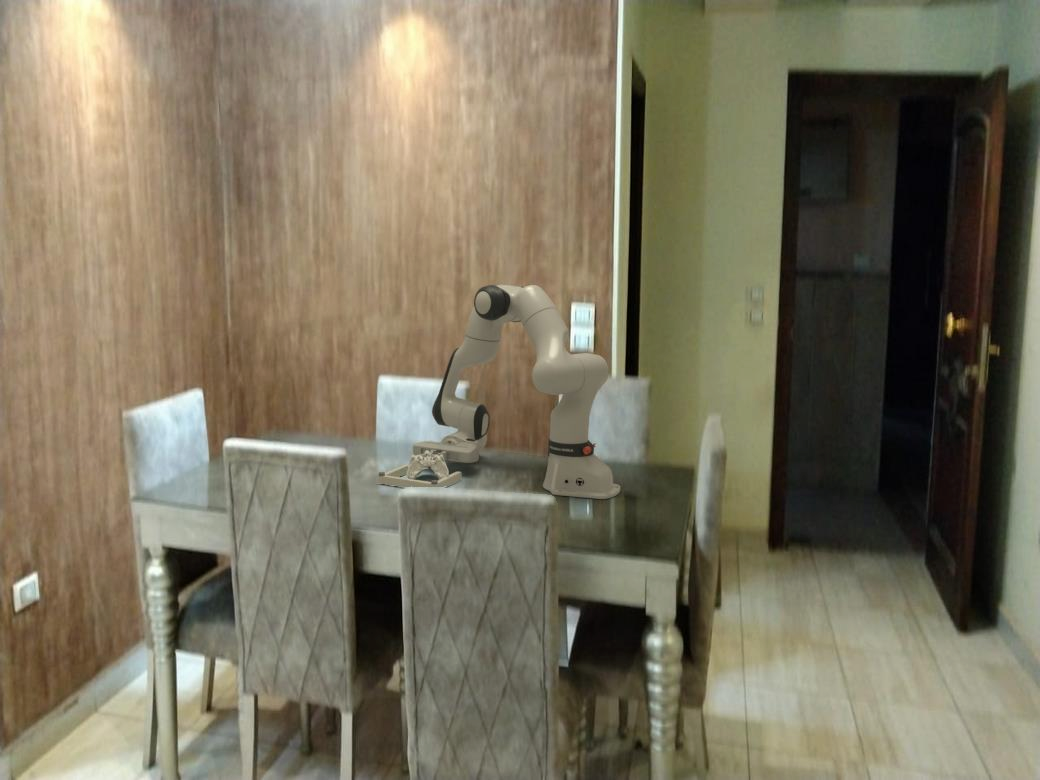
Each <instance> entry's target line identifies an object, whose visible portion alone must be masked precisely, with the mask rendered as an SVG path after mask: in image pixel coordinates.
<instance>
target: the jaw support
mask: <svg viewBox="0 0 1040 780" xmlns="http://www.w3.org/2000/svg"><path fill="white" fill-rule="evenodd" d="M426 453H427V457H425V455H426ZM428 454H429V455H430V457H428ZM408 464H409V465H408V470H407V474H406V476H407V479H413V480H416V479H417V478H418V477H419V475H420V474H421V473H422V472H423V471H424V470H429V468H430V469H431V470H432V471H433V473H434V474H435V476H436V477H437V479H438V480H440V479H442V478H444V477H446V476H448V475H450V474H449V468H448V467H447V466H448V465H447V463H446V460H444V457H443V455H442V454H441V455H440V456H438V455H433V454H431V453H430V452H429V451H428V450H426V452H425V453H424V454H422V455H416V456H415V455H414V454H413V453H412V454H411V456H410V460H409V463H408Z"/></svg>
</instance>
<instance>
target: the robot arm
mask: <svg viewBox="0 0 1040 780" xmlns="http://www.w3.org/2000/svg"><path fill="white" fill-rule="evenodd" d="M473 305H474V306H473V307H472V309H471V311H470V313H469V318H468V320H467V324H466V329H465V334H464V335H465V336H464V339H463V341H462V344H461V345H460V346H459V347H458V348H456V349H454V350H453V352H452V354H451V356H450V357H449V361H448V363H447V367H446V370H445V373H444V375H443V379H442V382H441V385H440V389H439V390H438V391H439V392H438V394H437V397H436V398H435V400H434V403H433V404H432V405H433V406H432V409H431V414H432V418H433V420H434V421H435V422H436V424H437V425H439V426H444V427H449V428H454V429H458V430H457V431H455V432H453V433H450V434H448V435H446V436H444V437H443V438H442V439H441V441H434V440H433V441H432V440H425V441H418V442H415V443H413V445H412V455H413V454H414V455H415V456H416V455H422V454H424V453H425V452H426V450H428V451H429V452H430V453H431V454H433V455H438V456H440V455H441V454H442V455H443V457H444V460H445V461H447V462H449V463H452V464H454V463H465V464H472V463H475V462H479V460H480V451H481V450H482V449H484V448H485V446H486V444H487V441H488V435H487V433H488V430H489V426H490V419H491V418H490V414H489V410H488V409H487V407H486V406H485V405H484V404H482V403H478V402H475V401H471V400H468V399H464V398H460V397H457V395H456V391H457V388H458V385H459V381H460V379H461V376H462V372H463V371H465V369H467V368H471V367H479V366H483V365H486V364H488V363H491V362H492V361H493V360H495V358H496V357H497V355H498V352H499V348H500V344H501V337H502V330H503V326H504V325H505V324H506V323H511V322H512V323H519V322H521V324H522V327H523V328H524V329H525V331H526V333H527V336H528V338H529V340H530V341H531V344H532V346H533V348H534V351H535V355H536V362H535V364H534V366H533V369H532V373H531V379H532V382H533V385H534V387H535V388H536V390H537V391H538V392H540V393H542V394H546V395H553V396H559V395H560V396H561V395H562V397H561V398H560V401H559V402H558V404H557V405H556V406H555V407H554V408H553V409H552V410H551V413H550V417H549V418H550V422H549V423H550V424H549V438H548V441H547V458H548V460H547V461H548V462H547V468H546V473H545V478H544V481H543V483H542V488H544V489H545V490H547V491H549V492H550V493H551V495H553V496H554V495H555V496H566V497H573V498H574V497H575V498H586V499H587V498H588V499H597V500H607V499H611V498H613V497H616V496H617V495H618V494H620V492H621V486H620V485H619V484H618V483H617V484H616V483H614V477H613V476H614V475H613V473H612V472H613V471H612V469H611V467H610V466H608V465H607V464H606V463H605V462H604V461H602V460H601V458H599V457H598V456H597V455H596V454H594V453H595V448H596V444H597V443H596V442H594V443H592V442H591V441H590V440H589V428H590V427H589V426H590V425H589V424H590V415H591V411H592V407H593V404H594V400H595V399H596V396H597V394H598V392H599V391H600V389H601V388H602V386H604V385H605V383H606V382H607V380H608V379H609V374H610V372H609V371H610V370H609V366H608V363H607V361H606V359H605V358H604V357H603V356H601V355H599V354H595V353H590V352H582V353H573V354H572V353H570V352H569V351H568V350H567V348H566V347H567V346H566V344H567V341H568V339H569V336H570V332H569V328H568V327H567V325H566V322H565V321H564V319H563V317H562V315H561V314H560V312H559V311H558V308H557V307H556V305H555V304H554V302H553V301H552V299H551V297H549V295H548V294H547V293H546V292H545V290H544V289H543V288H542V287H541V286H539V285H535V284H530V285H526V286H516V285H511V284H510V285H509V284H497V285H495V284H489V285H486V286H482V287H480V288H479V289H478V290H477V292H476V293H475V296H474V300H473ZM426 457H427V453H426V455H425V458H426ZM428 457H430V455H429V454H428Z"/></svg>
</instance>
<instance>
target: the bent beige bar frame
mask: <svg viewBox="0 0 1040 780" xmlns="http://www.w3.org/2000/svg"><path fill="white" fill-rule="evenodd" d="M408 465H409V463H405V464H404V465H403V464H402V465H401V466H398V467H395V468H393V469H391V470H388V471H386V472H384V471H380V472H378V475H377V479H378V480H377V484H378V483H380V484H379V485H381V484H386V485H385V486H387V485H395V486H399V487H398V488H400V487H401V486H402V488H401V489H404V488H403V487H411V486H412V487H444V486H449V485H451V486H453V485H455V484H456V483H458V482H460V481H462V471H455V472H453V473H451V474H448V476H446V477H444V478H442V479H440V480H439V479H438V480H437V479H432V480H431V481H426V480H420V479H415V480H413V479H408V477H407V478H404V476H406V475H407V470H408ZM405 474H406V475H405ZM403 475H404V476H403ZM400 476H402V477H400ZM452 484H453V485H452ZM449 487H450V486H449Z"/></svg>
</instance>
